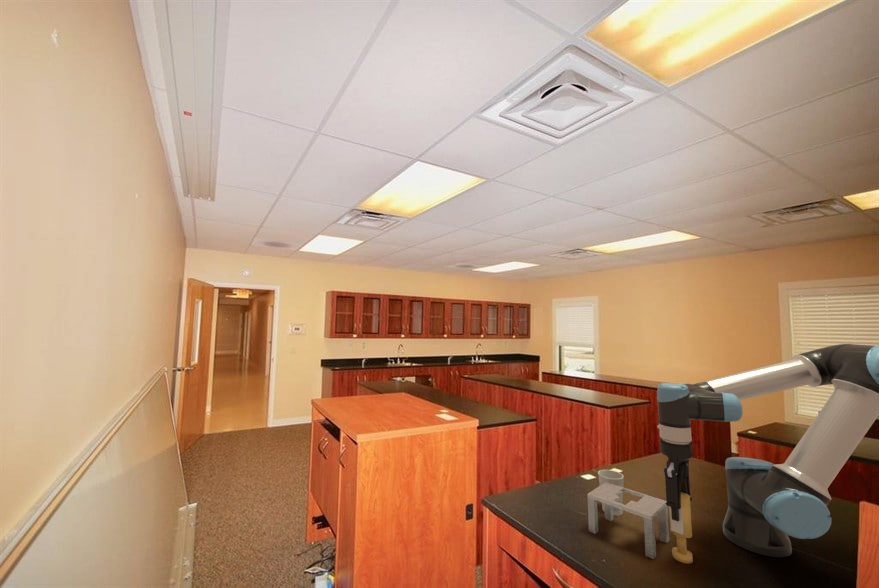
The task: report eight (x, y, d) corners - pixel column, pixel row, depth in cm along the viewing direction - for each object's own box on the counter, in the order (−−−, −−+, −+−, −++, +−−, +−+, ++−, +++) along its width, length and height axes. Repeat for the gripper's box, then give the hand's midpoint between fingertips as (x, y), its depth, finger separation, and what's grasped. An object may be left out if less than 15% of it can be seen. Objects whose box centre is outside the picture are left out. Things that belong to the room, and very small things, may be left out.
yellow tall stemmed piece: (695, 558, 97) (692, 495, 99) (690, 566, 94) (686, 500, 95) (674, 550, 101) (671, 488, 102) (668, 557, 97) (665, 494, 99)
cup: (598, 513, 121) (597, 476, 122) (600, 503, 128) (598, 468, 129) (625, 519, 117) (623, 480, 118) (625, 508, 124) (623, 472, 125)
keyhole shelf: (669, 540, 105) (666, 501, 106) (653, 559, 97) (651, 516, 98) (607, 516, 119) (605, 481, 120) (588, 531, 110) (587, 493, 111)
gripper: (670, 431, 109) (675, 511, 107) (648, 444, 97) (653, 534, 95) (700, 436, 103) (705, 521, 101) (681, 451, 91) (687, 547, 89)
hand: (680, 527), depth 98 cm, fingers closed on yellow tall stemmed piece, 5 cm apart
